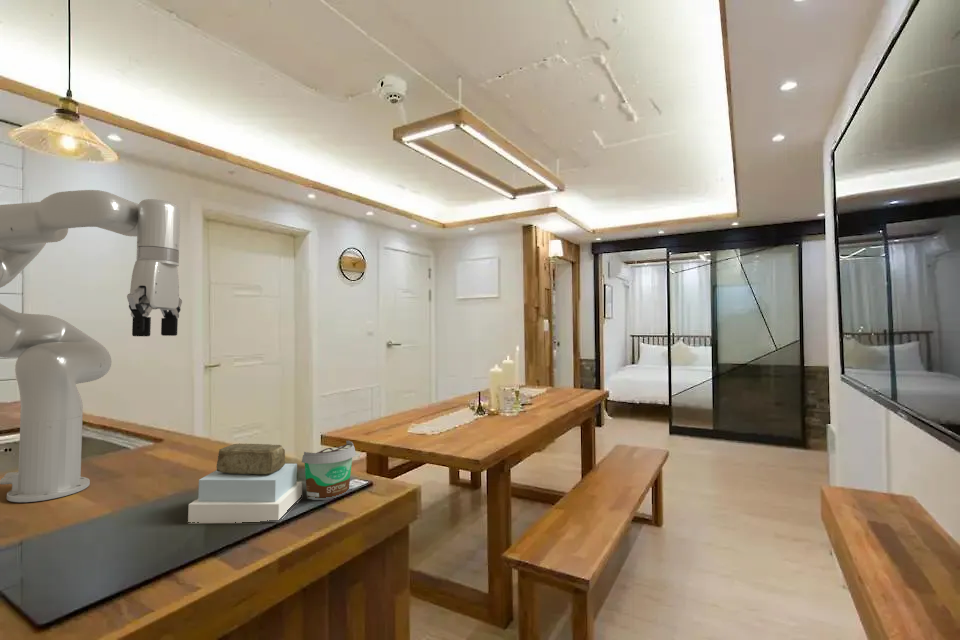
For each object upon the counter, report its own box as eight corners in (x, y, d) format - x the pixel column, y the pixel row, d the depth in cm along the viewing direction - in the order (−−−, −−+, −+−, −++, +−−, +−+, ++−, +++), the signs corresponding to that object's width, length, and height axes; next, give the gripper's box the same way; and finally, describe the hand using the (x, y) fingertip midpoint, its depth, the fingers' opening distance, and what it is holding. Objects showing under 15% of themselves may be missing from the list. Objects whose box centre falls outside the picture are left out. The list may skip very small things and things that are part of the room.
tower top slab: (198, 501, 81) (198, 479, 81) (228, 482, 91) (228, 463, 91) (275, 502, 82) (275, 480, 82) (296, 483, 92) (296, 463, 92)
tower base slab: (187, 526, 80) (188, 504, 80) (223, 501, 92) (223, 481, 92) (278, 526, 80) (278, 504, 81) (301, 500, 92) (302, 481, 93)
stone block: (272, 477, 83) (272, 450, 83) (213, 475, 84) (213, 449, 84) (287, 467, 89) (287, 442, 89) (231, 466, 90) (232, 441, 90)
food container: (320, 508, 87) (321, 457, 87) (300, 501, 91) (301, 452, 91) (367, 489, 98) (367, 444, 98) (347, 484, 101) (348, 439, 101)
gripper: (163, 263, 105) (161, 335, 105) (111, 250, 88) (108, 336, 88) (197, 264, 106) (195, 335, 106) (151, 251, 89) (149, 336, 88)
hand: (155, 335), depth 97 cm, fingers open, 9 cm apart
